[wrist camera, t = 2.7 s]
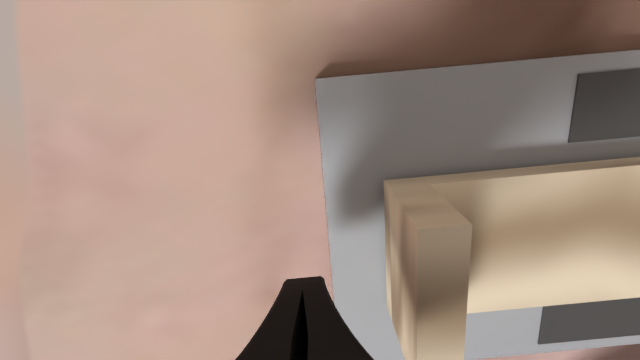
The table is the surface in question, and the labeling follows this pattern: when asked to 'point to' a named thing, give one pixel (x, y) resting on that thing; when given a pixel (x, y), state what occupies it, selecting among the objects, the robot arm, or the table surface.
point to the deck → (462, 157)
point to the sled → (506, 245)
